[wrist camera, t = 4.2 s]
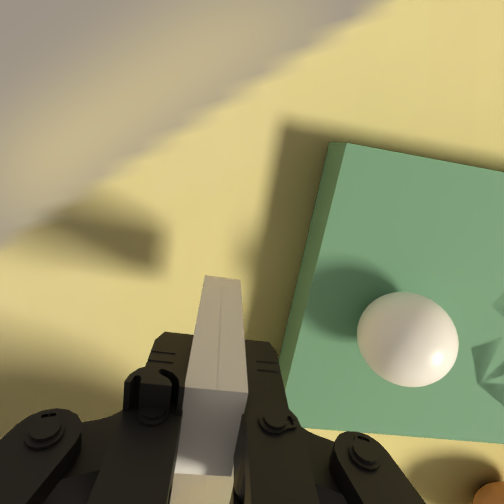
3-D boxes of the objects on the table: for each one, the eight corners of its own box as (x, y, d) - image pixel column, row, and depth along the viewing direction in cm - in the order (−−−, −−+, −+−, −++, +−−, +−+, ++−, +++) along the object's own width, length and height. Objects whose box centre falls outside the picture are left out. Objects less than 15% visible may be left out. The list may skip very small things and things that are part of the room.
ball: (335, 344, 17) (366, 404, 13) (357, 272, 16) (398, 315, 12) (409, 352, 17) (459, 413, 13) (435, 283, 16) (499, 328, 12)
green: (270, 392, 21) (285, 478, 15) (329, 141, 16) (377, 144, 11) (553, 418, 23) (648, 500, 18) (676, 206, 18) (854, 233, 13)
